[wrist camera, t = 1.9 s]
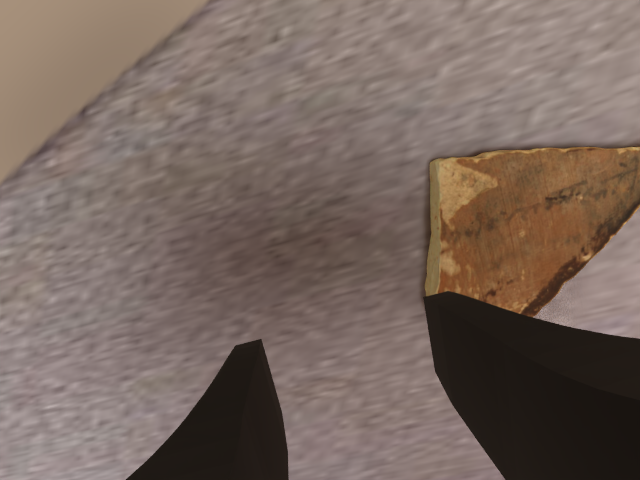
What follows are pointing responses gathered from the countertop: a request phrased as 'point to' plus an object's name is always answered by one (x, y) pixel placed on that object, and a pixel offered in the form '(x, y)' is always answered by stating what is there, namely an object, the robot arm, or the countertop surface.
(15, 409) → the countertop surface
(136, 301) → the countertop surface
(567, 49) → the countertop surface
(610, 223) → the shard
